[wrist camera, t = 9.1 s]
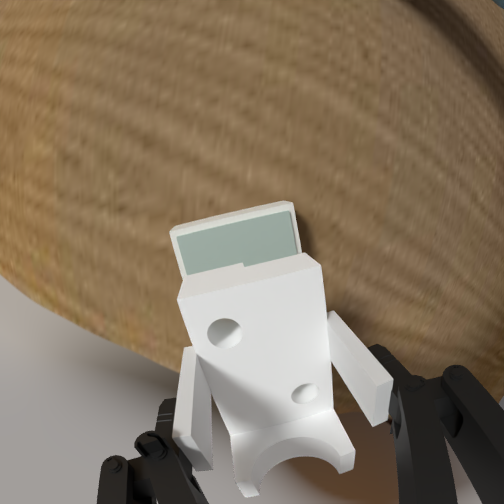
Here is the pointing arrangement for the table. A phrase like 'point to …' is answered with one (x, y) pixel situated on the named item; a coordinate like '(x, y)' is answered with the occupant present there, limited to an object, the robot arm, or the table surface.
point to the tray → (237, 238)
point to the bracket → (267, 362)
